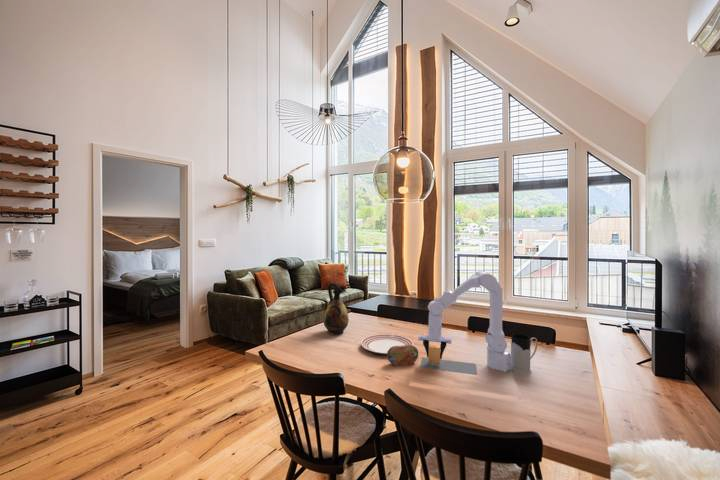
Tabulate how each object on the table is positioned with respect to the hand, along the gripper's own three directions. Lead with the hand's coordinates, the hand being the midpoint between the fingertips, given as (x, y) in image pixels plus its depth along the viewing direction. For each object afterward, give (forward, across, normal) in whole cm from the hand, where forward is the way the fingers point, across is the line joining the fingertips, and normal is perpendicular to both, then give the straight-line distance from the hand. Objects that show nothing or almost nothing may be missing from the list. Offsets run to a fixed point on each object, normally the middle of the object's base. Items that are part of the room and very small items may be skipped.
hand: (434, 357), depth 146 cm
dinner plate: (+5, -26, +18) cm, 31 cm away
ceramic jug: (+5, -61, +34) cm, 70 cm away
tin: (+5, -15, 0) cm, 15 cm away
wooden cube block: (+1, 0, 0) cm, 1 cm away
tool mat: (+4, +6, 0) cm, 7 cm away
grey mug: (+5, +39, +10) cm, 41 cm away
